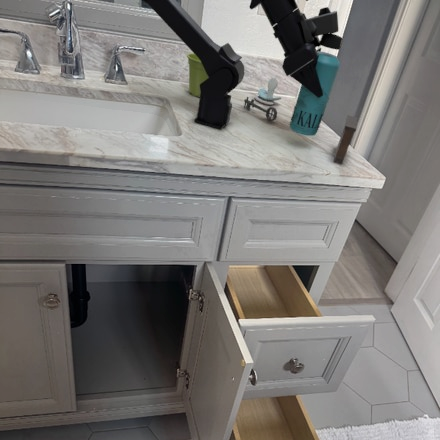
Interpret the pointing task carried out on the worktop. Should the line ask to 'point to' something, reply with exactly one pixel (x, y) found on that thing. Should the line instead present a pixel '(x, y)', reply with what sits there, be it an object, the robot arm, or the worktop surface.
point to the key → (251, 103)
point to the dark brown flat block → (345, 139)
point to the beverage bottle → (309, 103)
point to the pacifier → (268, 93)
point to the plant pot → (195, 74)
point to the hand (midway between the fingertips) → (321, 93)
